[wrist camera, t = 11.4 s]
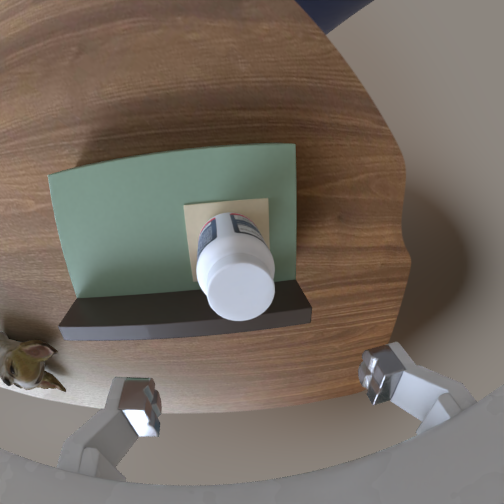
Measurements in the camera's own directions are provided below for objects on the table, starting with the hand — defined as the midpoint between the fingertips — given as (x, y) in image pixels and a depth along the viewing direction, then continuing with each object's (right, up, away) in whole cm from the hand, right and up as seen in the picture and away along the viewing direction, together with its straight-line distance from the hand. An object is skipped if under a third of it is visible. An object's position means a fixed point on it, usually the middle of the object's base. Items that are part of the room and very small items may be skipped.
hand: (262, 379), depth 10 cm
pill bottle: (-2, +6, +15) cm, 16 cm away
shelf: (-8, +8, +19) cm, 23 cm away
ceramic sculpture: (-36, -11, +23) cm, 44 cm away
